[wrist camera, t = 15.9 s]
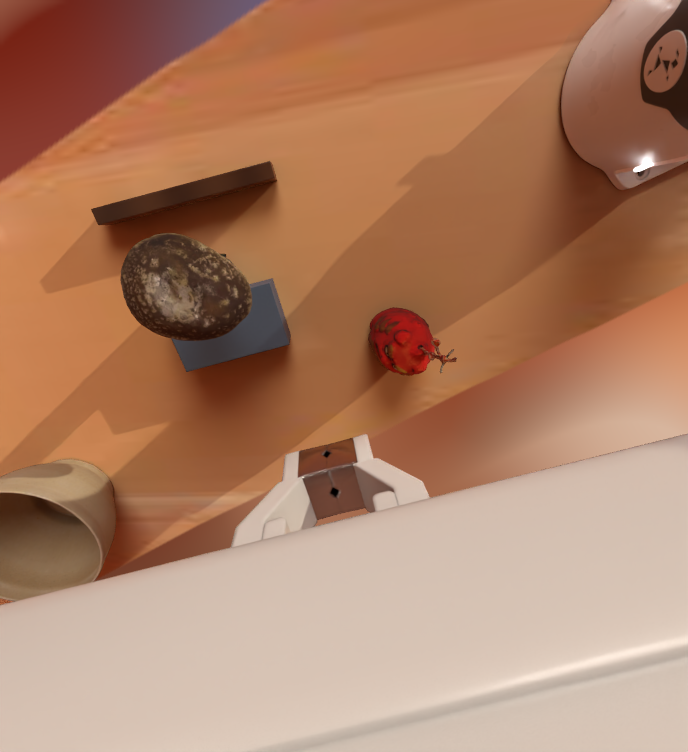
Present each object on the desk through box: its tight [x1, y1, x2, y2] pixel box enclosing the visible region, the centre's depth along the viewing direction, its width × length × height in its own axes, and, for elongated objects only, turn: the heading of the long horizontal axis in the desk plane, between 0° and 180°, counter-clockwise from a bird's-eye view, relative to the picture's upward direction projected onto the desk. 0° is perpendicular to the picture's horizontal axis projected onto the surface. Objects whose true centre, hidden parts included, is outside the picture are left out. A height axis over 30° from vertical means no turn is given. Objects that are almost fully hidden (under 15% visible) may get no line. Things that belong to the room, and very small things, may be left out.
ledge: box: [91, 161, 277, 225], centre depth 38 cm, size 18×2×2 cm, turn 104°
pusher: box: [172, 279, 291, 372], centre depth 43 cm, size 12×7×4 cm, turn 104°
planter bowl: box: [0, 459, 116, 601], centre depth 46 cm, size 16×16×11 cm
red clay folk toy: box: [368, 308, 457, 376], centre depth 40 cm, size 8×7×15 cm
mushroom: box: [121, 233, 252, 341], centre depth 35 cm, size 9×9×15 cm
